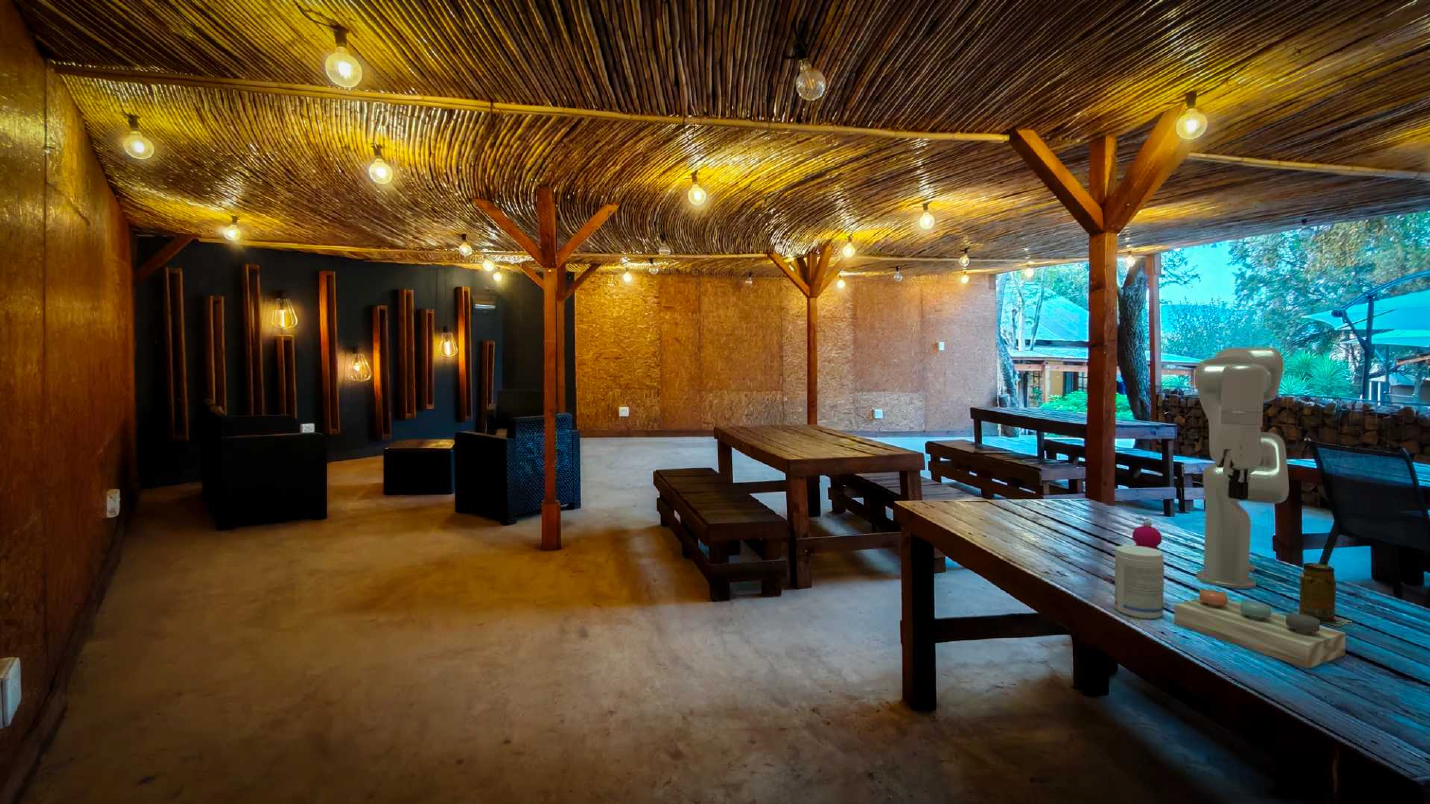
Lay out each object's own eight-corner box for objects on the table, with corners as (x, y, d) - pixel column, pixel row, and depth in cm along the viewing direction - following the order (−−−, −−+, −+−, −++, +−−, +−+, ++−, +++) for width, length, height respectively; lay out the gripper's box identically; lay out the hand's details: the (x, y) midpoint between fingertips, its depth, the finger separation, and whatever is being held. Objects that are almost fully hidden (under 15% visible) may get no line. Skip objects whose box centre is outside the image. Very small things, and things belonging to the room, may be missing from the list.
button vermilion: (1207, 610, 149) (1207, 588, 148) (1232, 617, 144) (1232, 595, 144) (1193, 613, 146) (1194, 591, 146) (1218, 621, 142) (1219, 598, 142)
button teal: (1247, 622, 141) (1248, 599, 141) (1275, 631, 137) (1276, 607, 137) (1234, 626, 139) (1235, 602, 139) (1262, 635, 135) (1263, 610, 134)
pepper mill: (1168, 607, 156) (1171, 524, 155) (1134, 605, 158) (1137, 522, 157) (1154, 596, 164) (1157, 517, 163) (1122, 595, 165) (1124, 516, 164)
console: (1211, 614, 152) (1211, 595, 152) (1344, 655, 130) (1345, 632, 130) (1174, 624, 146) (1174, 604, 146) (1307, 668, 124) (1308, 645, 124)
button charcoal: (1293, 636, 134) (1294, 611, 134) (1324, 645, 130) (1325, 620, 129) (1279, 640, 132) (1280, 615, 132) (1310, 650, 127) (1311, 624, 127)
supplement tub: (1173, 618, 150) (1175, 554, 149) (1138, 621, 148) (1140, 557, 147) (1137, 603, 159) (1138, 543, 158) (1104, 606, 157) (1105, 546, 156)
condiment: (1305, 609, 155) (1308, 559, 154) (1352, 622, 147) (1355, 569, 147) (1289, 614, 152) (1292, 563, 151) (1337, 627, 144) (1339, 574, 143)
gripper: (1240, 416, 156) (1237, 493, 157) (1203, 419, 150) (1200, 498, 151) (1278, 419, 150) (1275, 498, 151) (1241, 421, 143) (1237, 504, 144)
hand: (1237, 498), depth 151 cm, fingers closed
